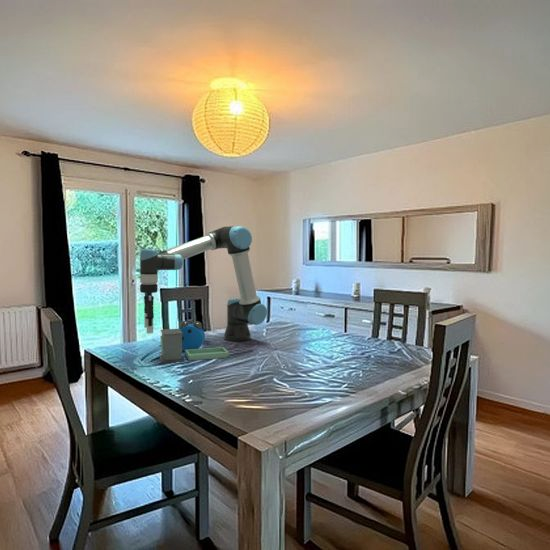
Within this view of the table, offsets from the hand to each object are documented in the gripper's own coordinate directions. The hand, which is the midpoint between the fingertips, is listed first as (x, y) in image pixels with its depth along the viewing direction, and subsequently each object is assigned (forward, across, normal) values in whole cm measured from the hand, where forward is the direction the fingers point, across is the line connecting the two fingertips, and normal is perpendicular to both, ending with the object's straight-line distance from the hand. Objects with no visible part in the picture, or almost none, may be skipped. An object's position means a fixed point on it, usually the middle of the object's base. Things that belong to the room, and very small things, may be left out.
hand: (148, 330), depth 185 cm
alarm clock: (+14, -12, +21) cm, 28 cm away
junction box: (+14, 0, +10) cm, 17 cm away
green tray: (+14, 0, +27) cm, 30 cm away
